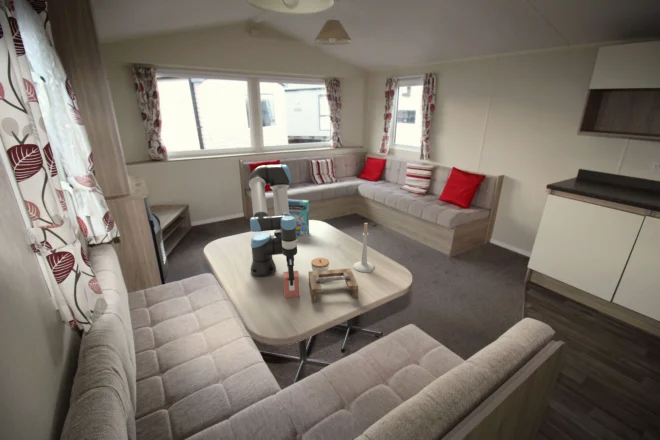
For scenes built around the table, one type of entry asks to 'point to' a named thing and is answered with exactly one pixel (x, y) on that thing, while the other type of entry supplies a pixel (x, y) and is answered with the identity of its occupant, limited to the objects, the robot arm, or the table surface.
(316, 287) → the wooden frame with rod
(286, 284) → the salmon red channel block
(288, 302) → the table surface
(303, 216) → the game box
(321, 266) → the lidded jar
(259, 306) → the table surface
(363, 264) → the candlestick
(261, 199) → the robot arm
